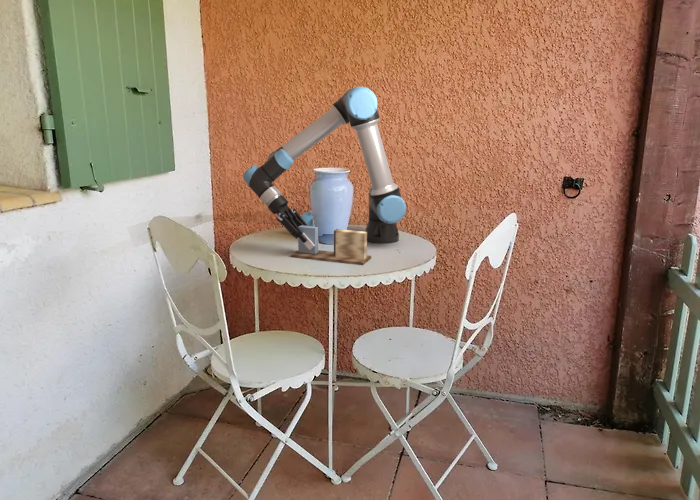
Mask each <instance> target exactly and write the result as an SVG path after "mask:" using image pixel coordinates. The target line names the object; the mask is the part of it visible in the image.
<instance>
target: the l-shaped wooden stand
mask: <svg viewBox="0 0 700 500" xmlns="http://www.w3.org/2000/svg"><path fill="white" fill-rule="evenodd" d="M367 244H368V241H367V232H365V231H362V230H352V229H351V230H350V229H340V228H336V229H334V230H333V251H331V250H330V251H329V250H321V249H320V250H319V249H318V253H316V254H310V253H300V252H298V250H296V251H294V252H293V253H291V254H290V258H295V259H303V260H311V261H314V260H315V261H322V262H331V263H338V264H339V263H341V264H347V265H348V264H349V265H357V266H364V265H365V264H366V263H368V262H369V261H370V260H371V259H372V255H368V254H367V252H368V251H367V250H368V248H367V247H368V245H367Z"/></svg>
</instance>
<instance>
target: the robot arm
mask: <svg viewBox="0 0 700 500" xmlns="http://www.w3.org/2000/svg"><path fill="white" fill-rule="evenodd" d="M378 103H379V102H378V98H377V95H376V94H375V93H374V92H373V91H372V90H371V89H370V88H368V87H366V86H355V87H353V88H350V89H348V90H347V91H346V92H344V93H343V94H342V96H340V97H339V99H337V100H336V101H335V102H334V103H332V104H331V106H330V109H329V110H327V111H326V112H325V113H323V114H322V115H321V116H319V117H318V118H317V119H316V120H314V121H313V122H311V123H310V124H309V125H308V126H306V127H305V128H303V129H302V130H301V131H299V133H297V134H295V135H294V136H292V138H290V139H289V140H288V141H286V142H285V143H284V144H282V145H281V146H280V147H278V148H277V149H276V150H274V151H272V152H270V154H269V155H268V156H267V160H266V161H265V162H264V163H262V165H261V166H258V165H256V164H254V165H252V166H251V167H249V168H248V169H246V170H245V172H244V173H243V175H242V178H243V181H244V182H245V183H246V185H247V186H248V187H249V188H250V189H251V190H252V192H254V193H255V194H256V195H255V196H257V197H258V198H259V199H260V200H261V202H262V204H264V205H265V207H267V208H268V210H269V211H270V212H271V213H272V214H273V215H277V217H276V220H277V222H279V223H280V224H281V225H282V226H283V227H284V228H285V229H286V230H287V231H288V232H289V234H290V235H291V236H292V237H294V239H298V238H299V239H300V240H301V241H302V242H303V243H304V244H305V246H306V247H307V248H308V249H309V250H311V249H312V248H313V247H314V246H315V245H314V244H313V243H312V241H311V240H310V239H309V238H308V237H307V236H306V235H305V233H303V234H302V232H301V230H300V229H299V228H298V227H299V226H301V225H303V226H308V225H307V224H306V223H305V221H304V220H303V219H302V218H301V215H300V213H299V212H298V211H297V209H296V208H293V209H292V208H290V207H289V206H288V203H289V201H288V199H287V198H286V197H285V195H282V192H281V191H280V190H279V189H278V188H277V187H276V186H275V185H274V184H273V183H274V182H275V181H276V180H277V179H278V178H279V177H281V175H282V174H284V173H285V172H286V171H288V170H289V169H290V167H291V166H292V165H294V161H295V160H296V159H298V158H299V157H300V156H302V155H303V154H305V153H306V152H307V151H308V150H310V149H311V148H313V147H314V146H315V145H317V144H318V143H319V142H321V141H323V139H325V138H326V137H327V136H329V135H330V134H331V133H333V132H334V131H335V130H336V129H338V128H339V127H341V126H343V125H344V126H346V125H347V124H349V125H350V128H352V129H353V130H354V131H355V132H356V135H357V139H358V142H359V145H360V146H359V147H360V148H361V153H362V156H363V160H364V163H365V167H366V169H367V173H368V177H369V180H370V183H371V186H370V188H369V190H368V222H367V225H366V227H365V231H364V232H367V242H369V243H370V242H371V243H375V244H376V243H378V244H388V243H390V244H391V243H396V242H398V241H399V240H400V233H399V230H398V227H397V223H399V222H400V221H402V219H403V218H404V217H405V215H406V213H407V205H406V202H405V200H404V199H403V198H402V194H401V191H400V188H399V185H398V184H396V183H394V179H393V176H392V173H391V169H390V166H389V161H388V158H387V154H386V150H385V147H384V144H383V140H382V137H381V133H380V128H379V125H378V123H379V121H380V119H381V117H380V114H379V111H378ZM319 244H320V241H318V245H319Z"/></svg>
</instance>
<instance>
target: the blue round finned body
mask: <svg viewBox="0 0 700 500" xmlns="http://www.w3.org/2000/svg"><path fill="white" fill-rule="evenodd" d="M312 211H313V210H308V211H307V212H303V214H301V215H300V216H301V218H302V219H303V220H304V221H305V223H306V224H307V225H308V226H314V227H315V225H314V220H313V216H312Z"/></svg>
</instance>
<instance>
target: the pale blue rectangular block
mask: <svg viewBox="0 0 700 500" xmlns="http://www.w3.org/2000/svg"><path fill="white" fill-rule="evenodd" d="M298 228H299V229H300V230H301V232H302V234H303V233H305V235H306V236H307V237H308V238H309V239H310V240H311V241H312V243H313V244H314V245H315V246H314V247H313V248H312V249H311V250H309V249H308V248H307V247H306V246H305V244H304V243H303V242H302V241H301V240H300V239H299V238H297V239H298V240H297V241H298V242H297V243H298V245H297V246H298V247H297V248H298V250H297V251H298V252H300V253H310V254H316V253H318V250H319V244H318V242H319V237H318V227H314V226H303V225H301V226H299V227H298Z"/></svg>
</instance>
